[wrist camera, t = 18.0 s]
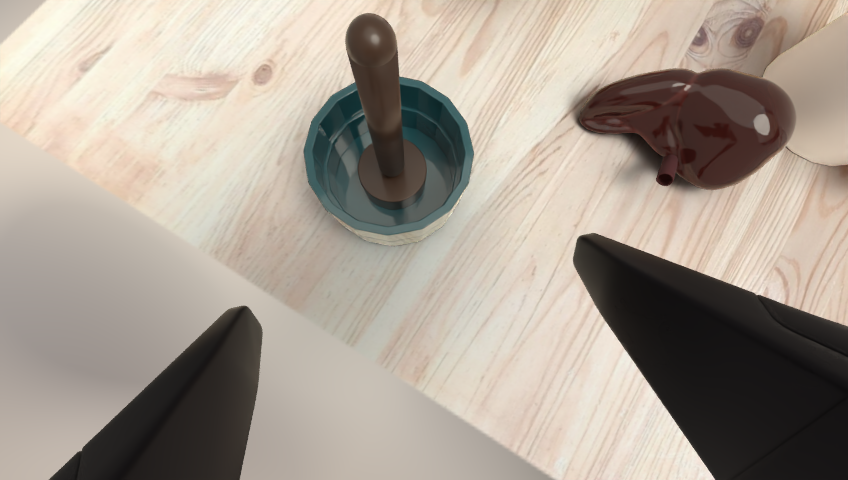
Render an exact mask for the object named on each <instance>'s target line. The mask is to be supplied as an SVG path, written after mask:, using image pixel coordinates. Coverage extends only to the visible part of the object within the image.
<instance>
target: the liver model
mask: <svg viewBox="0 0 848 480" xmlns="http://www.w3.org/2000/svg"><path fill="white" fill-rule="evenodd" d="M579 121H580V123H581V124H582V125H583V126H584V127H585V128H586V129H588V130H591V131H594V132H598V133H606V134H617V133H637V134H639V135H640V136H641V137H642V138H643V139H644V140H645V141H646V142H647V143H648V144H649V145H650V147H651V148H652V149H653V150H654V151H655V152H656V153H657V154H659V155H660V156H662V157H663V160H662V164H661V166H660V169H659V172H658V175H657V178H656V181H657V182H658V183H659V184H661V185H663V186H668V185H670V184H672V182H673V180H674V177H675V173H676V174H677V175H679V176H680V177H681V178H683V179H684V180H686V181H688V182H689V183H691V184H692V185H694V186H696V187H699V188H702V189H707V190H717V189H722V188H726V187H730V186H733V185H735V184H738V183H740V182H742V181H743V180H745V179H747V178H748V177H750V176H751V175H753V174H754V173H756V172H757V171H758V170H759V169H761V168H762V167H763V166H764V165H765V164H766V163H767V162H768V161H770V160H771V159H772V158H773V157H774V156H775V155H777V154H778V153H779V152H780V151H781V150H782V149H783V148H784V147H785V146H786V145H787V143H788V142H789V141H790V139H791V137H792V135H793V132H794V129H795V125H796V111H795V107H794V104H793V102H792V100H791V98H790V97H789V95H788V94H787V93H786V92H785V91H784V90H783V89H782V88H781V87H780V86H778V85H777V84H775V83H774V82H772V81H770V80H768V79H765V78H762V77H758V76H755V75H751V74H747V73H743V72H739V71H735V70H730V69H711V70H707V71H703V72H700V73H696V72H694V71H691V70H688V69H680V68H673V69H665V70H660V71H654V72H648V73H643V74H639V75H635V76H631V77H628V78H624V79H621V80H618V81H615V82H613V83H610V84H608V85H606V86H604V87H602V88H601V89H599V90H598V91H596V92H595V93H594V94H593V95H592V96H591V97H590V98H589V99H588V100H587V101H586V103H585V104H584V106H583V108H582V110H581V113H580V117H579Z"/></svg>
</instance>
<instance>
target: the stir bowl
mask: <svg viewBox="0 0 848 480" xmlns="http://www.w3.org/2000/svg"><path fill="white" fill-rule="evenodd" d="M399 82H400V98H401V114H402V130H403V138H404V139H406V140H408V141H410V142H412V143H413V144H415V145H416V146H417V147H418V148H419V149H420V151H421V152H422V154H423V156H424V158H425V161H426V166H427V174H426V182H425V187H424V190H423V193H422V194H421V196H420V197H419V199H418V200H417V201H416V202H414V203H413V204H412V205H410V206H408V207H406V208H403V209H397V210H390V209H385V208H382V207H380V206H378V205H376V204H375V203H374V202H372V201H371V200H370V199H369V197H368V196H367V194H366V192H365V190H364V188H363V186H362V184H361V182H360V180H359V176H358V163H359V160H360V157H361V155H362V153H363V152H364V150H365V149H366V148H367V147H368V146H369V145H370V144H371V143H372V140H371V137H370V133H369V129H368V126H367V122H366V118H365V115H364V111H363V108H362V104H361V100H360V97H359V93H358V90H357V86H356V82H354V83H353V84H351V85H349V86H347V87H346V88H344V89H342V90H340V91H339V92H337V93H335V94H333V95H332V96H331V97H330V98H329V99H328V101H327V102H326V103H325V104H324V106H323V107H322V108H321V109H320V111H319V112H318V113H317V114H316V116H315V117H314V118H313V119H312V122H311V125H310V129H309V132H308V136H307V140H306V143H305V147H304V158H305V164H306V171H307V178H308V182H309V185H310V186H311V188H312V189H313V191H314V192H315V194H316V195H317V197H318V199H319V200H320V202H321V203H322V205H323V206H324V208H325V209H326V210H327V211H328V212H329V213H330V214H331V215H332V216H333V217H334V218H335V219H337V220H338V221H339V222H340V223H341V224H342V225H343V226H344V227H346V228H347V229H349V230H350V231H352V232H353V233H355V234H356V235H358V236H359V237H361V238H362V239H364V240H365V241H368V242H373V243H378V244H383V245H388V246H399V245H404V244H409V243H414V242H419V241H422V240H423V239H425V238H426V237H428V236H429V235H431V234H432V233H434V232H435V231H437V230H438V229H440V228H441V227H442V226H444V224H445V223H446V221H447V220H448V218H449V217H450V215H451V214H452V212H453V211H454V209H455V208H456V206H457V205H458V203H459V201H460V199H461V197H462V195H463V193H464V191H465V190H466V188H467V186H468V183H469V179H470V173H471V168H472V162H473V157H474V151H473V146H472V142H471V138H470V134H469V130H468V125H467V123H466V121H465V120H464V118H463V117H462V116H461V114H460V113H459V112H458V110H457V109H456V107H455V106H454V105H453V103H452V102H451V101H450V99H449V98H448V97H446V96H445V95H443V94H442V93H440V92H438V91H437V90H435V89H434V88H432V87H430V86H429V85H427V84H426V83H424V82H422V81H419V80H414V79H409V78H404V77H399Z"/></svg>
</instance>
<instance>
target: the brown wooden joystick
mask: <svg viewBox="0 0 848 480" xmlns="http://www.w3.org/2000/svg"><path fill="white" fill-rule="evenodd" d="M345 44H346V50H347V53H348V57H349V61H350V64H351V68H352V71H353V75H354V79H355V82H356V86H357V90H358V93H359V97H360V100H361V104H362V108H363V111H364V115H365V118H366V122H367V126H368V129H369V133H370V137H371V140H372V143H371V144H370V145H369V146H368V147H367V148H366V149H365V150H364V152H363V153H362V155H361V157H360V160H359V163H358V176H359V180H360V182H361V184H362V186H363V188H364V190H365V192H366V194H367V196H368V197H369V199H370V200H371V201H372V202H374V203H375V204H376V205H378V206H380V207H382V208H385V209H390V210H397V209H403V208H406V207H408V206H410V205H412V204H413V203H414V202H416V201H417V200H418V199H419V197H420V196H421V194H422V193H423V190H424V187H425V182H426V174H427V166H426V161H425V158H424V156H423V154H422V152H421V151H420V149H419V148H418V147H417V146H416V145H415V144H413V143H412V142H410V141H408V140H406V139H404V138H403V130H402V114H401V98H400V82H399V67H398V51H397V40H396V36H395V33H394V31H393V29H392V27H391V25H390V24H389V23H388V22H387V21H386V20H385V19H384V18H382V17H381V16H379V15H376V14H372V13H366V14H362V15H359V16H358V17H356V18H355V19H354V20H353V21H352V22H351V23H350V25H349V27H348V29H347V32H346V38H345Z"/></svg>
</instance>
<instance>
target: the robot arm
mask: <svg viewBox="0 0 848 480" xmlns="http://www.w3.org/2000/svg"><path fill="white" fill-rule="evenodd" d="M573 263H574V266H575V268H576V270H577V272H578V274H579V276H580V278H581V279H582V281H583V283H584V285H585V287H586V289H587V290H588V292H589V294H590V296H591V298H592V300H593V301H594V303H595V305H596V307H597V309H598V310H599V312H600V313H601V315H602V317H603V318H604V320H605V321H606V322H607V324H608V325H609V327H610V328H611V330H612V331H613V333H614V334H615V335H616V337H617V338H618V340H619V341H620V343H621V344H622V346H623V347H624V348H625V350H626V351H627V353H628V354H629V356H630V357H631V359H632V360H633V361H634V363H635V364H636V366H637V367H638V369H639V370H640V372H641V373H642V374H643V376H644V377H645V379H646V380H647V382H648V383H649V385H650V386H651V387H652V389H653V390H654V392H655V393H656V395H657V396H658V398H659V399H660V400H661V402H662V403H663V405H664V406H665V408H666V409H667V410H668V412H669V413H670V415H671V416H672V418H673V419H674V421H675V422H676V423H677V425H678V426H679V428H680V429H681V431H682V432H683V434H684V435H685V436H686V438H687V439H688V441H689V442H690V444H691V445H692V447H693V448H694V449H695V451H696V452H697V454H698V455H699V457H700V458H701V460H702V461H703V462H704V464H705V465H706V467H707V468H708V470H709V471H710V473H711V474H712V475H713V477H714V478H715V480H848V326H845V325H842V324H839V323H836V322H833V321H830V320H827V319H824V318H821V317H818V316H815V315H812V314H809V313H807V312H804V311H801V310H798V309H796V308H793V307H790V306H787V305H785V304H782V303H779V302H777V301H774V300H771V299H769V298H766V297H763V296H761V295H756V294H755V293H753V292H750V291H747V290H745V289H742V288H739V287H737V286H734V285H731V284H729V283H726V282H723V281H721V280H718V279H715V278H713V277H710V276H707V275H705V274H702V273H699V272H697V271H694V270H691V269H689V268H686V267H684V266H681V265H678V264H676V263H673V262H670V261H668V260H665V259H662V258H660V257H657V256H654V255H652V254H649V253H646V252H644V251H641V250H638V249H636V248H633V247H630V246H628V245H625V244H622V243H620V242H617V241H614V240H612V239H609V238H606V237H604V236H601V235H598V234H596V233H591V234H586V235H581V236H579V237H578V239H577V242H576V247H575V252H574V256H573ZM261 345H262V327H261V325H260V323H259V322H258V320H257V319H256V317H255V316H254V314H253V313H252V311H251V310H250V309H249V308H248V307H247V306H239V307H235V308H231V309H228V310H227V311H226V312H225V313H224V314H223V315H222V316H220V317H219V318H218V319H217V320H216V321H215V322H214V323H213V324H212V325H211V326H210V327H209V328H208V329H207V330H206V331H205V332H204V333H203V334H202V335H201V336H199V337H198V339H196V340H195V341H194V342H193V343H192V344H191V345H190V346H189V347H188V348H187V349H186V350H185V351H184V352H183V353H182V354H181V355H180V356H179V357H177V358H176V359H175V361H173V362H172V363H171V364H170V365H169V366H168V367H167V368H166V369H165V370H164V371H163V372H162V373H161V374H160V375H159V376H158V377H157V378H155V380H153V381H152V382H151V383H150V384H149V385H148V386H147V387H146V388H145V389H144V390H143V391H142V392H141V393H140V394H139V395H138V396H137V397H135V399H133V401H131V402H130V403H129V404H128V405H127V406H126V407H125V408H124V409H123V410H122V411H121V412H120V413H119V414H118V415H117V416H115V418H113V419H112V420H111V421H110V422H109V423H108V424H107V425H106V426H105V427H104V428H103V429H102V430H101V431H100V432H99V433H98V434H97V435H95V436H94V437H93V438H92V439H91V440H90V441H89V442H88V443H87V444H86V445H85V446H84V447H83V449H82V451H79V452H78V453H76V454H75V455H74V456H73V457H72V458H71V459H70V460H69V461H68V462H67V463H66V464H65V465H64V466H63V467H62V468H61V469H60V470H59V471H58V472H57V473H55V474H54V475H53V476H52V477H51V478H50V479H49V480H240V475H241V470H242V465H243V459H244V455H245V450H246V445H247V440H248V435H249V430H250V425H251V420H252V415H253V410H254V405H255V400H256V395H257V388H258V380H259V368H260V357H261Z"/></svg>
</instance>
